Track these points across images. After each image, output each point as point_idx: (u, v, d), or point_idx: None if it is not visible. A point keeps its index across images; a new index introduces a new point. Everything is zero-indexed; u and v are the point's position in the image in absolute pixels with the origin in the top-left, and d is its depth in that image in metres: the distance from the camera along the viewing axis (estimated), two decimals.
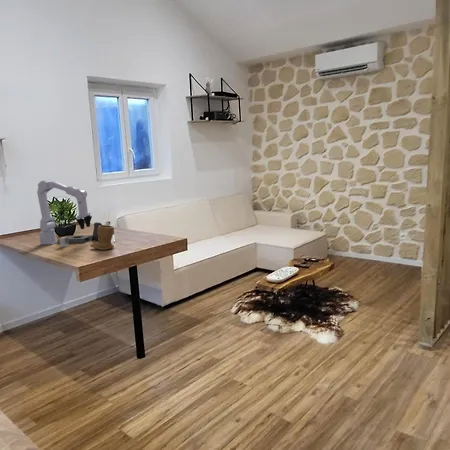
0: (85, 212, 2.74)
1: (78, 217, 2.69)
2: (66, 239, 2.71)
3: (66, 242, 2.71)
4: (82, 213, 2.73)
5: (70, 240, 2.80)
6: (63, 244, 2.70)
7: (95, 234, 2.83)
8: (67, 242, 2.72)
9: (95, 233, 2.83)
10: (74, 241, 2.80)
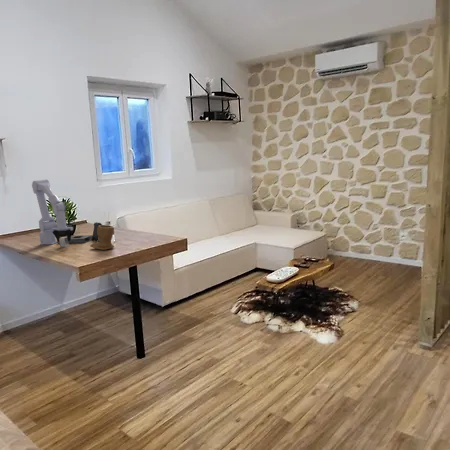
0: (57, 226, 2.67)
1: None
2: (66, 239, 2.71)
3: (66, 242, 2.71)
4: None
5: None
6: (63, 244, 2.70)
7: (95, 234, 2.83)
8: (67, 242, 2.72)
9: (95, 233, 2.83)
10: (74, 241, 2.80)
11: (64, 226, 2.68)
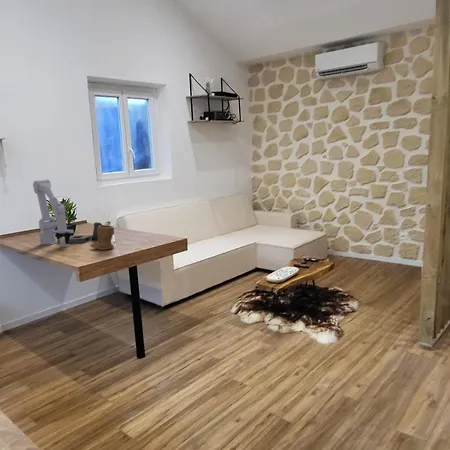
0: (58, 228, 2.68)
1: None
2: None
3: None
4: None
5: (70, 240, 2.80)
6: (63, 244, 2.70)
7: (95, 234, 2.83)
8: None
9: (95, 233, 2.83)
10: (74, 241, 2.80)
11: (64, 229, 2.68)
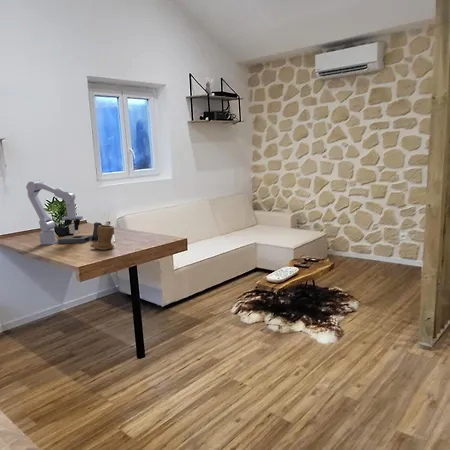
0: (67, 215, 2.77)
1: None
2: None
3: (75, 229, 2.79)
4: None
5: (70, 240, 2.80)
6: (73, 230, 2.78)
7: (95, 234, 2.83)
8: None
9: (95, 233, 2.83)
10: (74, 241, 2.80)
11: (74, 215, 2.77)
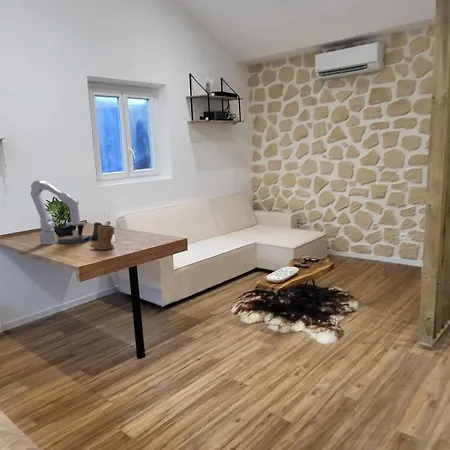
0: (71, 221, 2.80)
1: None
2: None
3: None
4: None
5: (70, 240, 2.80)
6: (77, 236, 2.82)
7: (95, 234, 2.83)
8: None
9: (95, 233, 2.83)
10: (74, 241, 2.80)
11: (78, 221, 2.81)
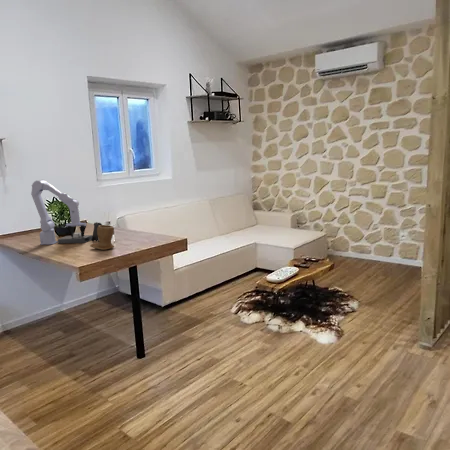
0: (71, 222, 2.81)
1: None
2: (79, 234, 2.83)
3: (79, 237, 2.83)
4: None
5: (70, 240, 2.80)
6: None
7: (95, 234, 2.83)
8: (80, 237, 2.85)
9: (95, 233, 2.83)
10: (74, 241, 2.80)
11: (78, 222, 2.81)
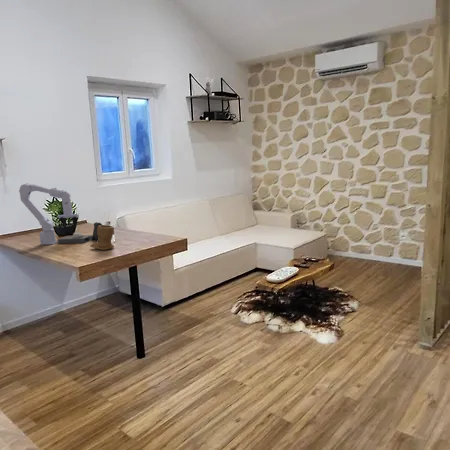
0: (64, 213, 2.82)
1: None
2: (79, 234, 2.83)
3: (79, 237, 2.83)
4: None
5: (70, 240, 2.80)
6: None
7: (95, 234, 2.83)
8: (80, 237, 2.85)
9: (95, 233, 2.83)
10: (74, 241, 2.80)
11: (70, 213, 2.83)
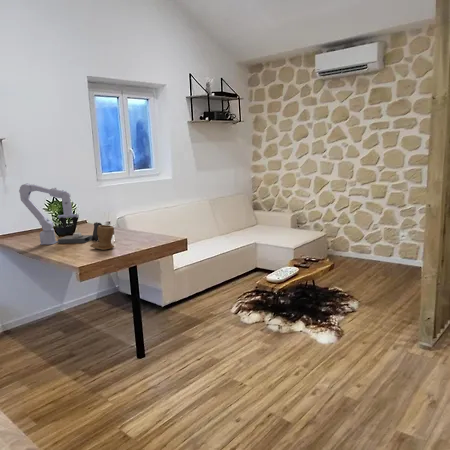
0: (64, 213, 2.82)
1: None
2: (79, 234, 2.83)
3: (79, 237, 2.83)
4: None
5: (70, 240, 2.80)
6: None
7: (95, 234, 2.83)
8: (80, 237, 2.85)
9: (95, 233, 2.83)
10: (74, 241, 2.80)
11: (70, 213, 2.83)
